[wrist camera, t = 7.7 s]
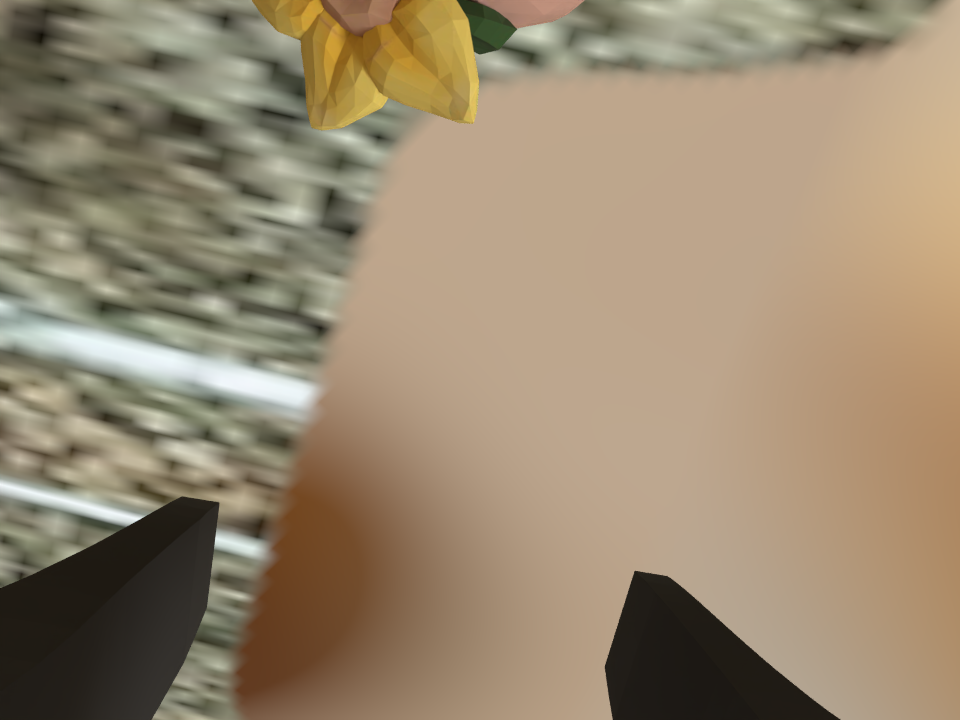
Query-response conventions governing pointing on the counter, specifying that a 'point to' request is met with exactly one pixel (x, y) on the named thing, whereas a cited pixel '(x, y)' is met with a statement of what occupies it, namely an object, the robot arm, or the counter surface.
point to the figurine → (399, 51)
